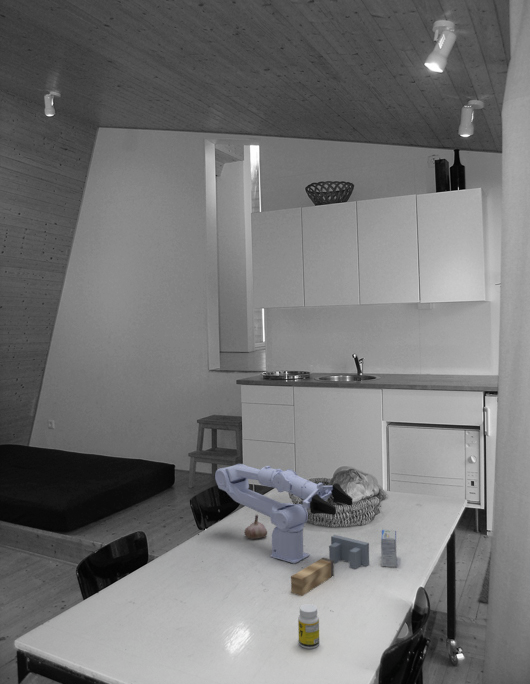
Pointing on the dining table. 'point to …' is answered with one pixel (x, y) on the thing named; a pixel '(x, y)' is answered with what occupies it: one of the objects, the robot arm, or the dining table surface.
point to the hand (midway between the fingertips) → (343, 506)
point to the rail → (312, 576)
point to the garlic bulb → (255, 530)
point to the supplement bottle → (308, 626)
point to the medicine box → (388, 548)
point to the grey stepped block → (349, 551)
